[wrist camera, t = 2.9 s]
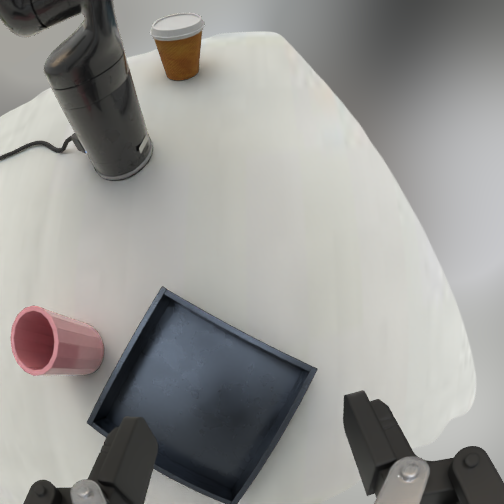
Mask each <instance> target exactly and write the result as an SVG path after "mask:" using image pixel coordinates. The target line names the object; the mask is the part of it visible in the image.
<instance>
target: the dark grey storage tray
mask: <svg viewBox="0 0 504 504" xmlns="http://www.w3.org/2000/svg"><path fill="white" fill-rule="evenodd" d="M316 371H317V368H315V367H312V366H310V365H308V364H306V363H304V362H302V361H300V360H298V359H296V358H294V357H291V356H289V355H287V354H285V353H283V352H281V351H279V350H277V349H275V348H273V347H271V346H269V345H267V344H265V343H263V342H261V341H259V340H257V339H255V338H253V337H252V336H250V335H248V334H246V333H244V332H242V331H240V330H238V329H236V328H234V327H233V326H231V325H229V324H227V323H225V322H223V321H222V320H220V319H218V318H216V317H214V316H212V315H211V314H209V313H207V312H205V311H204V310H202V309H200V308H198V307H197V306H195V305H193V304H191V303H190V302H188V301H186V300H184V299H183V298H181V297H179V296H178V295H176V294H174V293H173V292H171V291H169V290H167V289H166V288H164V287H161V289H160V291H159V292H158V294H157V296H156V297H155V299H154V301H153V302H152V304H151V306H150V307H149V309H148V311H147V312H146V314H145V316H144V317H143V319H142V321H141V322H140V324H139V326H138V328H137V329H136V331H135V333H134V335H133V336H132V338H131V340H130V342H129V343H128V345H127V347H126V349H125V350H124V352H123V354H122V356H121V358H120V360H119V361H118V363H117V365H116V367H115V369H114V371H113V372H112V374H111V376H110V378H109V380H108V382H107V384H106V385H105V387H104V389H103V391H102V393H101V395H100V397H99V399H98V401H97V403H96V405H95V407H94V409H93V411H92V413H91V415H90V417H89V419H88V421H87V423H88V424H89V425H90V426H92V427H93V428H94V429H95V430H97V431H98V432H99V433H101V434H102V435H103V436H105V437H106V438H107V436H108V434H109V433H110V432H111V431H112V430H113V429H114V428H115V427H119V426H120V424H121V422H122V420H123V418H124V417H126V416H129V417H143V418H144V419H145V421H146V423H147V425H148V426H149V428H150V430H151V431H152V433H153V435H154V436H155V438H156V440H157V443H158V453H157V456H156V460H155V464H154V467H153V469H155V470H157V471H159V472H160V473H162V474H164V475H166V476H168V477H169V478H171V479H173V480H175V481H177V482H179V483H181V484H183V485H185V486H187V487H189V488H191V489H193V490H195V491H197V492H199V493H202V494H204V495H206V496H208V497H211V498H213V499H215V500H218V501H220V502H223V503H225V504H237V503H238V502H239V500H240V499H241V498H242V496H243V495H244V493H245V492H246V491H247V489H248V488H249V486H250V485H251V483H252V482H253V480H254V479H255V477H256V476H257V474H258V473H259V471H260V470H261V468H262V467H263V465H264V464H265V462H266V460H267V459H268V457H269V456H270V454H271V452H272V451H273V449H274V448H275V446H276V444H277V443H278V441H279V439H280V438H281V436H282V434H283V433H284V431H285V429H286V427H287V426H288V424H289V422H290V420H291V419H292V417H293V415H294V413H295V411H296V409H297V408H298V406H299V404H300V402H301V400H302V398H303V396H304V395H305V393H306V391H307V389H308V387H309V385H310V383H311V381H312V379H313V377H314V375H315V373H316Z"/></svg>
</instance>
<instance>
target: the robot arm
mask: <svg viewBox="0 0 504 504" xmlns="http://www.w3.org/2000/svg"><path fill="white" fill-rule="evenodd" d="M79 14H83V15H84V17H85V20H84V21H83V22H82V24H81V25H80V26H79V27H78V29H77V30H76V31H75V32H74V33H73V34H72V35H71V36H70V37H68V38H67V39H66V40H65V41H64V42H63V43H61V44H60V45H59V46H58V47H57V48H56V49H55V50H54V51H53V52H52V53H51V55H50V56H49V57H48V59H47V60H46V62H45V65H44V73H45V76H46V78H47V80H48V82H49V84H50V86H51V88H52V90H53V92H54V94H55V96H56V98H57V100H58V102H59V104H60V106H61V108H62V110H63V112H64V114H65V115H66V117H67V119H68V121H69V123H70V125H71V127H72V128H73V130H74V132H75V133H74V134H73V135H72V136H70V137H69V138H67V139H66V140H65V142H64V144H63V146H62V148H56V147H54V146H53V145H51V144H50V143H48V142H45V141H35V142H31V143H29V144H26V145H24V146H22V147H20V148H18V149H16V150H14V151H12V152H9V153H7V154H4V155H2V156H0V160H1V159H3V158H5V157H8V156H11V155H13V154H15V153H17V152H19V151H21V150H24V149H26V148H28V147H30V146H33V145H45V146H47V147H48V148H50V149H51V150H53V151H55V152H63V151H64V150H65V149H66V147H67V145H68V143H69V142H70V141H72V140H73V142H74V144H75V146H76V147H77V149H78V150H79V151H82V152H84V153H87V155H88V157H89V158H90V160H91V162H92V163H93V165H94V168H95V170H96V171H97V173H98V174H99V175H100V176H101V177H102V178H104V179H107V180H121V179H124V178H127V177H130V176H132V175H133V174H135V173H137V172H138V171H139V170H141V169H142V168H143V167H144V166H145V165H146V163H147V162H148V161H149V159H150V157H151V154H152V150H153V146H152V142H151V139H150V137H149V135H148V132H147V128H146V125H145V122H144V118H143V115H142V112H141V108H140V105H139V101H138V98H137V95H136V91H135V87H134V84H133V80H132V77H131V73H130V69H129V66H128V62H127V58H126V55H125V50H124V47H123V43H122V39H121V36H120V32H119V29H118V25H117V20H116V16H115V11H114V4H113V0H0V19H1V21H2V22H3V23H4V25H5V26H6V27H7V28H8V29H9V30H11V32H13V33H14V34H16V35H18V36H20V37H30V36H33V35H36V34H38V33H40V32H42V31H44V30H46V29H49V28H50V27H52V26H54V25H56V24H59V23H61V22H63V21H65V20H67V19H69V18H72V17H74V16H76V15H79ZM343 423H344V429H345V433H346V436H347V439H348V442H349V444H350V447H351V450H352V453H353V456H354V459H355V462H356V465H357V467H358V470H359V473H360V476H361V479H362V482H363V485H364V488H365V491H366V494H367V496H368V495H371V494H374V493H375V495H376V498H377V499H376V501H375V503H374V504H504V483H503V481H502V479H501V477H500V475H499V474H498V472H497V470H496V469H495V467H494V465H493V463H492V462H491V460H490V458H489V457H488V455H487V453H486V452H485V451H484V450H483V449H482V448H480V447H476V446H470V447H466V448H463V449H462V450H460V451H459V452H458V453H457V454H456V455H455V457H454V458H450V459H444V460H439V461H425V460H423V459H422V458H419V457H417V456H416V455H415V454H414V452H413V451H412V449H411V447H410V445H409V443H408V441H407V439H406V438H405V436H404V434H403V432H402V430H401V428H400V427H399V425H398V423H397V421H396V419H395V418H394V417H393V414H392V412H391V410H390V409H389V407H388V406H387V405H386V404H385V403H383V402H382V401H380V400H379V399H377V400H374V401H369V399H368V397H367V395H366V393H365V392H364V391H359V392H355V393H352V394H348V395H345V396H344V414H343ZM157 453H158V443H157V440H156V438H155V436H154V435H153V433H152V431H151V430H150V428H149V426H148V425H147V423H146V421H145V419H144V418H143V417H129V416H126V417H124V418H123V420H122V422H121V424H120V426H119V427H115V428H114V429H113V430H112V431H111V432H110V433H109V434H108V436H107V438H106V440H105V442H104V446H102V449H101V453H99V455H98V457H97V460H96V462H95V464H94V466H93V469H92V471H91V473H90V475H89V477H88V479H86V480H81V481H78V482H77V483H75V484H74V485H73V487H72V488H56V487H55V486H54V485H53V484H52V483H51V482H49V481H47V480H39V481H37V482H35V483H34V484H33V485H32V486H31V488H30V490H29V493H28V495H27V497H26V499H25V501H24V504H144V501H145V497H146V493H147V489H148V486H149V482H150V478H151V474H152V471H153V467H154V464H155V460H156V456H157Z"/></svg>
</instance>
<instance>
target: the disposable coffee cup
mask: <svg viewBox="0 0 504 504" xmlns="http://www.w3.org/2000/svg"><path fill="white" fill-rule="evenodd" d="M204 25H205V23H204V21H203V20H202V17H201V16H200V15H198V14H195V13H178V14H172V15H169V16H165V17H162V18H160V19H158V20H157V21H155V22H154V23H153V24H152V29H151V31H150V34H151V36H152V37H153V38H154V39H155V42H156V45H157V49H158V52H159V54H160V57H161V61H162V63H163V66H164V69H165V72H166V75H167V77H168V78H169V79H172V80H185V79H189V78H191V77H193V76H195V75H196V74H197V73H198V70H199V58H200V47H201V36H202V30H203V27H204Z"/></svg>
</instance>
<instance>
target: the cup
mask: <svg viewBox="0 0 504 504" xmlns="http://www.w3.org/2000/svg"><path fill="white" fill-rule="evenodd" d="M11 346H12V352H13V354H14V357H15V359H16V361H17V363H18V364H19V366H20V367H21V368H22V369H23V370H24V371H25V372H27V373H29V374H31V375H34V376H80V375H88V374H91V373H93V372H95V371H96V370H97V369H98V368H99V366H100V365H101V362H102V360H103V355H104V347H103V342H102V339H101V337H100V335H99V333H98V332H97V331H96V329H95V328H93V327H92V326H91V325H89V324H87V323H84V322H81V321H78V320H75V319H72V318H69V317H66V316H63V315H60V314H58V313H55V312H52V311H49V310H47V309H44V308H41V307H37V306H30V307H26V308H24V309H23V310H22V311H21V312H20V313H19V314H18V315H17V317H16V319H15V321H14V323H13V325H12V331H11Z"/></svg>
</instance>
